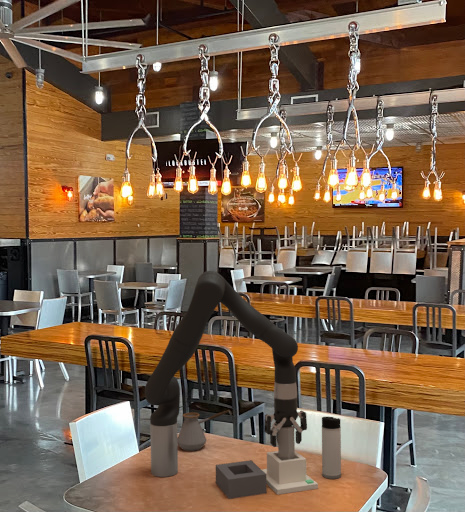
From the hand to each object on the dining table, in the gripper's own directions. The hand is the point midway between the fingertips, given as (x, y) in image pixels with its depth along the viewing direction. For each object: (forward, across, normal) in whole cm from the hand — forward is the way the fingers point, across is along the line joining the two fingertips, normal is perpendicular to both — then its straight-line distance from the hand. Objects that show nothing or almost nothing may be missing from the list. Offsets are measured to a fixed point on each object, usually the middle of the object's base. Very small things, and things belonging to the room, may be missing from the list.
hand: (286, 444), depth 203 cm
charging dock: (+12, 0, 0) cm, 12 cm away
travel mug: (+12, -16, +1) cm, 20 cm away
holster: (+12, +16, 0) cm, 20 cm away
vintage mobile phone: (+11, 0, 0) cm, 11 cm away
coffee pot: (+12, +16, -42) cm, 47 cm away
